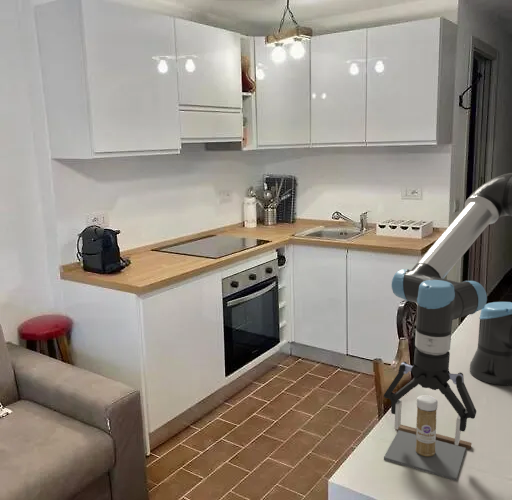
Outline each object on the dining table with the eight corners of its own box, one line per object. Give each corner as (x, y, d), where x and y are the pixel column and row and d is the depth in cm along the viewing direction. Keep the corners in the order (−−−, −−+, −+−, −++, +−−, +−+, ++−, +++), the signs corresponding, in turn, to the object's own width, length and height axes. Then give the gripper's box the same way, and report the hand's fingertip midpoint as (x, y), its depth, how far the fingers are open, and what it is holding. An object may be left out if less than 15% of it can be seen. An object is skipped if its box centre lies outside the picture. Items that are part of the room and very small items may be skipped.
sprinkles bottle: (418, 457, 121) (420, 403, 119) (413, 446, 126) (414, 394, 123) (438, 457, 121) (440, 403, 119) (432, 446, 125) (433, 394, 123)
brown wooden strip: (396, 427, 135) (397, 423, 135) (471, 446, 126) (471, 442, 126) (395, 429, 134) (395, 426, 134) (470, 449, 125) (470, 445, 125)
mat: (398, 432, 133) (398, 430, 133) (465, 450, 125) (465, 447, 125) (383, 459, 122) (383, 457, 122) (456, 480, 114) (456, 478, 114)
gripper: (373, 344, 121) (369, 427, 125) (490, 366, 108) (482, 457, 113) (382, 333, 127) (378, 413, 131) (494, 353, 115) (486, 440, 119)
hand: (426, 434), depth 122 cm, fingers open, 13 cm apart
